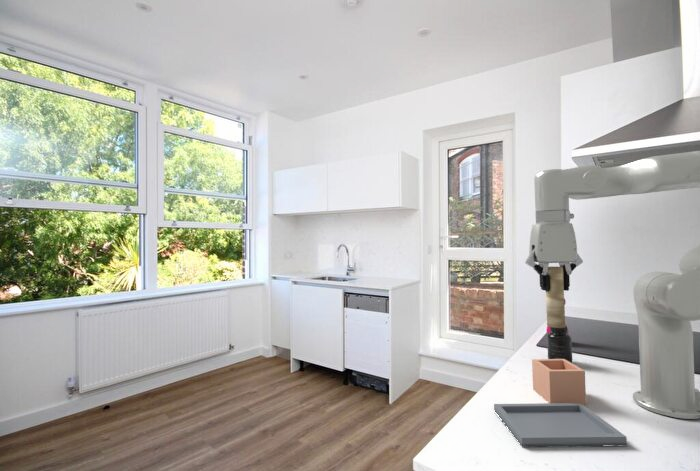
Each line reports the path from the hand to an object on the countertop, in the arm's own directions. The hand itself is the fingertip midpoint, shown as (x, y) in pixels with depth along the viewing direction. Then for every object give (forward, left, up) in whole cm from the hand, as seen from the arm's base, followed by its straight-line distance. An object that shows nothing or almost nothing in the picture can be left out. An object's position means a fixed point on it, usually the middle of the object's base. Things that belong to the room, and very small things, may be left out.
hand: (554, 289), depth 89 cm
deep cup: (0, 0, -27) cm, 27 cm away
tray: (+9, +14, -27) cm, 32 cm away
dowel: (0, 0, -9) cm, 9 cm away
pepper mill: (-25, -45, -27) cm, 58 cm away
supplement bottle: (-14, -24, -27) cm, 39 cm away
